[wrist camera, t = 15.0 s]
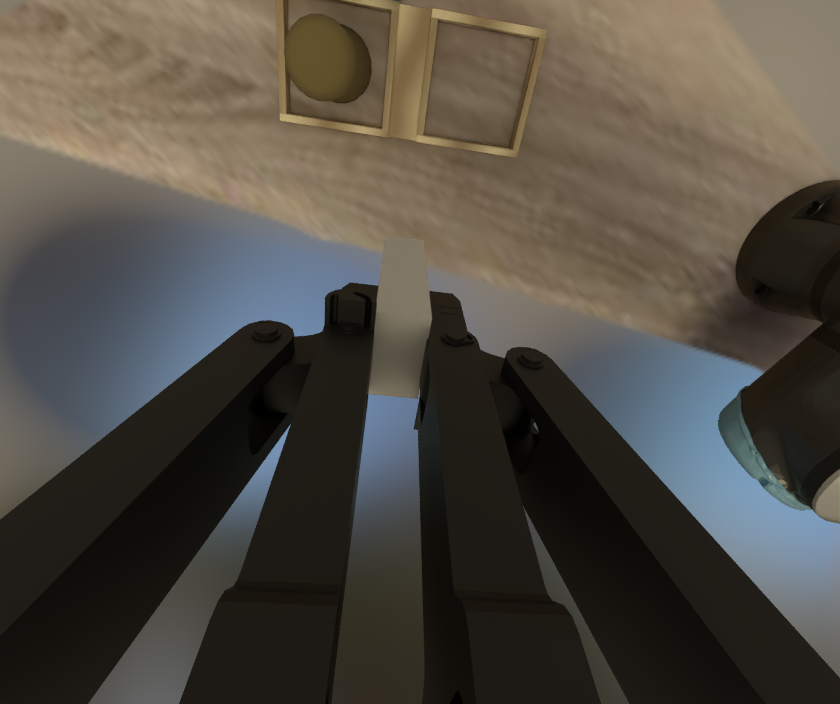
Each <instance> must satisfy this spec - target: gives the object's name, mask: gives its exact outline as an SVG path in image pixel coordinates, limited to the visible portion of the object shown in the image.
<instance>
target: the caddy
mask: <svg viewBox="0 0 840 704" xmlns="http://www.w3.org/2000/svg"><path fill="white" fill-rule="evenodd" d="M329 1H334V2H340V3H345V4H350V5H356V6H361V7H366V8H372V9H377V10H382V11H388V12H392V13H391V25H390V37H389V49H388V62H387V74H386V86H385V98H384V110H383V123H382V128H379V127H373V126H366V125H360V124H354V123H347V122H341V121H335V120H329V119H322V118H316V117H310V116H303V115H297V114H291V113H290V85H289V73H288V70H287V67H286V64H285V56H284V47H285V40H286V37H287V35H288V4H287V0H276V21H277V49H278V76H279V104H280V121H287V122H293V123H299V124H306V125H312V126H318V127H325V128H331V129H337V130H344V131H350V132H357V133H363V134H369V135H376V136H382V137H395V138H401V139H407V140H414V141H416V142H420V143H427V144H433V145H439V146H446V147H452V148H458V149H465V150H471V151H477V152H484V153H490V154H496V155H503V156H509V157H516V158H517V155H518V151H519V147H520V143H521V139H522V135H523V131H524V127H525V123H526V118H527V114H528V110H529V106H530V102H531V98H532V94H533V90H534V86H535V82H536V78H537V74H538V70H539V66H540V62H541V58H542V54H543V50H544V46H545V42H546V38H547V34H548V30H545V29H539V28H534V27H529V26H524V25H518V24H513V23H508V22H503V21H497V20H492V19H487V18H482V17H476V16H471V15H466V14H461V13H455V12H450V11H445V10H440V9H435V8H432V10H430V9H425V8H420V7H415V6H409V5H404V4H400V0H329ZM438 21H441V22H446V23H452V24H457V25H462V26H467V27H473V28H478V29H483V30H489V31H494V32H499V33H505V34H510V35H515V36H521V37H526V38H531V39H535V42H534V46H533V50H532V55H531V59H530V63H529V67H528V72H527V76H526V80H525V84H524V89H523V93H522V97H521V101H520V106H519V110H518V114H517V118H516V123H515V127H514V131H513V135H512V140H511V144H510V148H504V147H498V146H492V145H485V144H479V143H473V142H467V141H460V140H454V139H448V138H442V137H435V136H429V135H423V133H424V125H425V117H426V110H427V102H428V94H429V87H430V79H431V71H432V64H433V56H434V48H435V41H436V33H437V25H438Z"/></svg>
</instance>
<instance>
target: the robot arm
mask: <svg viewBox="0 0 840 704" xmlns="http://www.w3.org/2000/svg"><path fill="white" fill-rule="evenodd" d="M736 276H737V282H738V285H739V288H740V290H741V291H742V293H743V294H744V295H745V296H746V297H747V298H748V299H750V300H751V301H753V302H754V303H756V304H758V305H759V306H761V307H763V308H765V309H767V310H770V311H773V312H777V313H782V314H787V315H792V316H798V317H803V318H808V319H813V320H818V321H820V322H822V323H823V324H822V325H821V326H820V327H818V328H817V329H816V330H815V331H814V332H813V333H811V334H810V335H809V336H808V337H806V338H805V339H804V340H803V341H802V342H801V343H799V344H798V345H797V346H796V347H795V348H793V349H792V350H791V351H790V352H789V353H787V354H786V355H785V356H784V357H783V358H782V359H780V360H779V361H778V362H777V363H776V364H774V365H773V366H772V367H771V368H770V369H769V370H767V371H766V372H765V373H764V374H763V375H761V376H760V377H759V378H758V379H757V380H755V381H754V382H753V383H752V384H751V385H750V386H745V387H744V388H742V389H741V390H740V391H739V393H738V395H737V397H736V398H734V399H733V400H732V401H731V402H730V403H729V404H728V405H727V406H726V407H725V408H724V409H723V410H722V411H721V413H720V415H719V420H718V427H719V431H720V434H721V436H722V438H723V440H724V442H725V444H726V446H727V447H728V448H729V450H730V452H731V453H732V454H733V456H734V457H735V458H736V460H737V461H738V462H739V463H740V465H741V466H742V467H743V468H744V469H745V470H746V472H747V473H748V474H749V475H750V476H752V477H753V478H755V479H757V480H758V481H759V482H760V484H761V485H762V487H763V488H764V489H765V490H766V491H768V492H769V493H770V494H771V495H772V496H773V497H775V498H776V499H778V500H779V501H780V502H782V503H783V504H785V505H787V506H789V507H791V508H794V509H798V510H806V509H807V510H810V509H812V510H813V511H814V512H815V513H816V514H817V515H818V516H819V517H820V518H822V519H824V520H826V521H829V522H834V523H839V524H840V180H838V181H828V182H823V183H820V184H816V185H813V186H811V187H808V188H806V189H803V190H801V191H799V192H797V193H795V194H794V195H792V196H790V197H789V198H787V199H786V200H784V201H783V202H781V203H780V204H779V205H777V206H776V207H775V208H774V209H772V210H771V211H770V212H769V213H768V214H767V215H766V216H765V217H764V218H763V219H762V220H761V221H760V222H759V223H758V224H757V226H756V227H755V228H754V229H753V231H752V232H751V234H750V235H749V237H748V238H747V240H746V242H745V244H744V246H743V248H742V250H741V252H740V255H739V258H738V262H737V269H736ZM816 339H817V340H816ZM821 342H822V343H821ZM826 345H827V346H826ZM829 347H830V348H829ZM831 348H832V349H831ZM834 350H835V351H834ZM419 388H420V398H419V404H418V409H417V415H416V420H415V426H414V429H417V430H418V446H419V447H418V448H419V486H420V523H421V558H422V594H423V630H424V631H423V632H424V688H423V696H422V704H601V702H600V699H599V696H598V693H597V690H596V686H595V683H594V680H593V677H592V674H591V670H590V667H589V664H588V661H587V658H586V654H585V651H584V648H583V645H582V642H581V638H580V635H579V632H578V630H577V627H576V625H575V623H574V620H573V618H572V616H571V614H570V613H569V611H568V610H567V609H566V608H565V606H564V605H562V604H559V603H557V602H554V601H552V600H551V598H550V597H549V596H548V593H547V591H546V588H545V585H544V581H543V578H542V574H541V570H540V566H539V563H538V559H537V555H536V552H535V548H534V544H533V541H532V537H531V534H530V530H529V527H528V523H527V519H526V515H525V512H524V508H525V510H526V512H527V514H528V516H529V518H530V519H531V521H532V523H533V525H534V527H535V529H536V530H537V533H538V534H539V536H540V538H541V540H542V542H543V544H544V546H545V547H546V549H547V551H548V553H549V555H550V556H551V558H552V560H553V562H554V564H555V566H556V568H557V570H558V572H559V573H560V575H561V577H562V579H563V581H564V583H565V584H566V586H567V588H568V590H569V592H570V594H571V596H572V598H573V599H574V601H575V603H576V605H577V607H578V609H579V611H580V612H581V614H582V616H583V618H584V620H585V622H586V624H587V625H588V627H589V629H590V631H591V633H592V635H593V637H594V639H595V640H596V642H597V644H598V646H599V648H600V650H601V652H602V653H603V655H604V657H605V659H606V661H607V663H608V665H609V666H610V668H611V670H612V672H613V674H614V676H615V677H616V679H617V681H618V683H619V685H620V687H621V689H622V691H623V692H624V694H625V696H626V698H627V700H628V702H629V704H840V678H839V677H838V676H837V674H836V673H835V672H834V671H833V670H832V669H831V668H830V667H829V666H828V664H827V663H826V662H825V661H824V660H823V659H822V658H821V657H820V656H819V655H818V653H817V652H816V651H815V650H814V649H813V648H812V647H811V646H810V645H809V644H808V642H807V641H806V640H805V639H804V638H803V637H802V636H801V635H800V634H799V633H798V631H797V630H796V629H795V628H794V627H793V626H792V625H791V624H790V622H789V621H788V620H787V619H786V618H785V617H784V616H783V615H782V614H781V612H780V611H779V610H778V609H777V608H776V607H775V606H774V605H773V604H772V603H771V601H770V600H769V599H768V598H767V597H766V596H765V595H764V594H763V593H762V591H761V590H760V589H759V588H758V587H757V586H756V585H755V584H754V583H753V582H752V580H751V579H750V578H749V577H748V576H747V575H746V574H745V573H744V572H743V570H742V569H741V568H740V567H739V566H738V565H737V564H736V563H735V562H734V561H733V559H732V558H731V557H730V556H729V555H728V554H727V553H726V552H725V551H724V550H723V548H722V547H721V546H720V545H719V544H718V543H717V542H716V541H715V540H714V538H713V537H712V536H711V535H710V534H709V533H708V532H707V531H706V530H705V528H704V527H703V526H702V525H701V524H700V523H699V522H698V521H697V520H696V518H695V517H694V516H693V515H692V514H691V513H690V512H689V511H688V510H687V508H686V507H685V506H684V505H683V504H682V503H681V502H680V501H679V500H678V499H677V498H676V497H675V495H674V494H673V493H672V492H671V491H670V490H669V489H668V487H667V486H666V485H665V484H664V483H663V482H662V481H661V480H660V479H659V477H658V476H657V475H656V474H655V473H654V472H653V471H652V470H651V469H650V468H649V466H648V465H647V464H646V463H645V462H644V461H643V460H642V459H641V458H640V456H638V454H637V453H636V452H635V451H634V450H633V449H632V448H631V447H630V446H629V444H628V443H627V442H626V441H625V440H624V439H623V438H622V437H621V435H619V433H618V432H617V431H616V430H615V429H614V428H613V427H612V425H610V423H609V422H608V421H607V420H606V419H605V418H604V417H603V416H602V414H601V413H600V412H599V411H598V410H597V409H596V408H595V407H594V406H593V404H592V403H591V402H590V401H589V400H588V399H587V398H586V397H585V396H584V395H583V394H582V392H581V391H580V390H579V389H578V388H577V387H576V386H575V385H574V384H573V382H572V381H571V380H570V379H569V378H568V377H567V376H566V375H565V373H564V372H563V371H562V370H561V369H560V368H559V367H558V366H557V365H556V364H555V363H554V361H553V360H552V359H551V358H549V357H548V356H547V355H546V354H543V353H542V352H539V351H538V350H536V349H532V348H528V347H526V348H525V347H516V348H511V349H510V350H509V351H507V353H506V357H505V358H502V357H498V356H495V355H491V354H489V353H486V352H484V351H482V350H480V347H479V343H478V341H477V339H476V337H475V336H473V335H472V334H471V333H469V332H468V331H467V327H466V323H465V319H464V316H463V311H462V307H461V303H460V301H459V300H458V299H457V298H456V297H455V296H454V295H453V294H449V293H442V292H433V291H429V285H428V276H427V267H426V257H425V248H424V240H421V239H413V238H406V237H398V236H391V235H386V238H385V245H384V252H383V259H382V266H381V273H380V280H379V286H375V285H366V284H358V283H349V284H348V285H346V286H345V287H343V288H342V289H340V290H335V291H332V292H330V293H328V294H327V296H326V297H325V325H324V328H323V331H322V332H320V333H318V334H314V335H308V336H298V337H294V332H293V329H292V328H290V327H289V326H288V325H286V324H283V323H281V322H275V321H269V320H267V321H258V322H254V323H250V324H248V325H246V326H244V327H243V328H241V329H240V330H238V331H237V332H236V333H235V334H233V335H232V336H231V337H230V338H228V339H227V340H226V341H225V342H223V343H222V344H221V345H220V346H218V347H217V348H216V349H214V350H213V351H212V352H211V353H209V354H208V355H207V356H206V357H205V358H203V359H202V360H201V361H200V362H198V363H197V364H196V365H194V366H193V367H192V368H191V369H189V370H188V371H187V372H186V373H184V374H183V375H182V376H181V377H179V378H178V379H177V380H176V381H175V382H173V383H172V384H170V385H169V386H168V387H167V388H166V389H164V390H163V391H162V392H160V393H159V394H158V395H157V396H155V397H154V398H153V399H152V400H150V401H149V402H148V403H147V404H145V405H144V406H143V407H142V408H140V409H139V410H138V411H136V412H135V413H134V414H133V415H131V416H130V417H129V418H128V419H127V420H125V421H124V422H123V423H121V424H120V425H119V426H118V427H116V428H115V429H114V430H113V431H111V432H110V433H109V434H108V435H106V436H105V437H104V438H102V439H101V440H100V441H99V442H98V443H96V444H95V445H94V446H92V447H91V448H90V449H89V450H88V451H86V452H85V453H84V454H82V455H81V456H80V457H79V458H77V459H76V460H75V461H74V462H72V463H71V464H70V465H69V466H68V467H66V468H65V469H63V470H62V471H61V472H60V473H58V474H57V475H56V476H55V477H53V478H52V479H51V480H50V481H48V482H47V483H46V484H45V485H43V486H42V487H41V488H40V489H38V490H37V491H36V492H35V493H33V494H32V495H31V496H29V497H28V498H27V499H26V500H24V501H23V502H22V503H21V504H19V505H18V506H17V507H16V508H15V509H13V510H12V511H11V512H9V513H8V514H7V515H6V516H4V517H3V518H2V519H0V704H88V703H89V701H90V700H91V698H92V697H93V696H94V695H95V693H96V692H97V690H98V689H99V688H100V686H101V685H102V683H103V682H104V681H105V679H106V678H107V677H108V675H109V674H110V672H111V671H112V670H113V668H114V667H115V666H116V664H117V663H118V661H119V660H120V658H121V657H122V656H123V654H124V653H125V652H126V650H127V649H128V648H129V646H130V645H131V643H132V642H133V641H134V639H135V638H136V637H137V635H138V634H139V632H140V631H141V630H142V628H143V627H144V626H145V624H146V623H147V621H148V620H149V618H150V617H151V616H152V614H153V613H154V612H155V610H156V609H157V607H158V606H159V605H160V603H161V602H162V601H163V599H164V598H165V597H166V595H167V594H168V592H169V591H170V590H171V588H172V587H173V585H174V584H175V583H176V581H177V580H178V579H179V577H180V576H181V574H182V573H183V572H184V570H185V569H186V567H187V566H188V565H189V563H190V562H191V561H192V559H193V558H194V556H195V555H196V554H197V552H198V551H199V550H200V548H201V547H202V545H203V544H204V543H205V541H206V540H207V539H208V537H209V535H210V534H211V533H212V531H213V530H214V529H215V528H216V526H217V525H218V523H219V522H220V521H221V519H222V518H223V517H224V515H225V514H226V512H227V511H228V510H229V508H230V507H231V505H232V504H233V503H234V501H235V500H236V499H237V497H238V496H239V494H240V493H241V492H242V490H243V489H244V488H245V486H246V485H247V483H248V482H249V481H250V479H251V478H252V476H253V475H254V474H255V472H256V471H257V470H258V468H259V467H260V465H261V464H262V463H263V461H264V460H265V459H266V457H267V456H268V454H269V453H270V451H271V450H272V449H273V448H274V446H275V445H276V443H277V442H278V441H279V439H280V438H281V436H282V435H283V434H284V432H285V431H286V430H287V428H288V427H289V425H290V424H291V426H290V428H289V431H288V434H287V437H286V440H285V443H284V446H283V449H282V452H281V455H280V458H279V461H278V464H277V467H276V470H275V472H274V475H273V478H272V481H271V484H270V487H269V490H268V493H267V496H266V499H265V502H264V505H263V508H262V511H261V514H260V517H259V520H258V523H257V525H256V528H255V531H254V534H253V537H252V540H251V543H250V546H249V549H248V552H247V555H246V558H245V561H244V564H243V567H242V570H241V572H240V575H239V577H238V580H237V582H236V583H235V585H234V586H233V587H231V588H229V589H227V590H225V591H224V593H223V594H222V596H221V598H220V599H219V601H218V602H217V605H216V607H215V609H214V612H213V614H212V617H211V619H210V621H209V624H208V627H207V629H206V632H205V635H204V638H203V641H202V643H201V646H200V649H199V652H198V654H197V657H196V660H195V662H194V665H193V668H192V670H191V673H190V676H189V679H188V681H187V684H186V687H185V689H184V692H183V695H182V698H181V700H180V703H179V704H332V695H333V686H334V676H335V668H336V659H337V651H338V643H339V634H340V625H341V618H342V610H343V601H344V593H345V585H346V577H347V568H348V560H349V552H350V543H351V535H352V527H353V519H354V511H355V501H356V493H357V485H358V477H359V469H360V461H361V453H362V444H363V436H364V428H365V420H366V410H367V403H368V394H373V395H385V396H396V397H406V398H418V394H419ZM534 422H535V423H536V425H537V427H538V431H539V432H538V431H537V430H536V428H535V427H534ZM523 506H524V508H523Z"/></svg>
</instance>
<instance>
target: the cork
mask: <svg viewBox="0 0 840 704" xmlns="http://www.w3.org/2000/svg"><path fill="white" fill-rule="evenodd" d="M284 56H285V64H286V67H287V70H288V73H289V75H290V78H291V79H292V81H293V82H294V83H295V85H296V86H297V88H298V89H299V90H300V91H302V92H303V93H304V94H305V95H307V96H308V97H310V98H313V99H315V100H318V101H333V102H335V103H348V102H351V101H354V100H356V99H357V98H358V97H359V96H361V95H362V94H363V93H364V91H365V89H366V88H367V86H368V84H369V80H370V76H371V58H370V55H369V52H368V48H367V46H366V45H365V43H364V41H363V40H362V38H361V37H360V36H359V35H358V34H357V33H356V32H355V31H354V30H353V29H351V28H349V27H346V26H344V25H342V24H338V23H337V22H336V21H335V20H334V19H332V18H330V17H327V16H325V15H323V14H309V15H307V16H304V17H302V18H300V19H298V20H297V21H296V22H295V23H294V24H293V25H292V26H291V28H290V30H289V32H288V35H287V37H286V40H285V47H284Z"/></svg>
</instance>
